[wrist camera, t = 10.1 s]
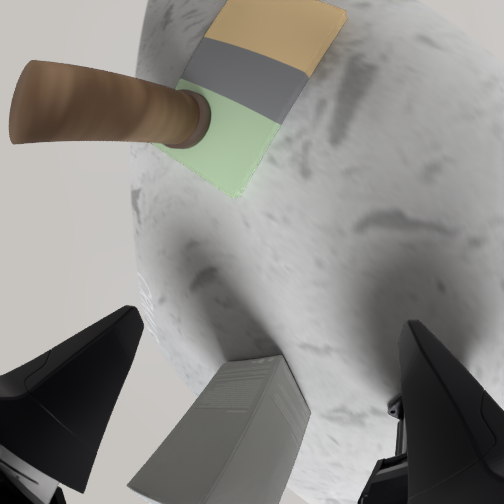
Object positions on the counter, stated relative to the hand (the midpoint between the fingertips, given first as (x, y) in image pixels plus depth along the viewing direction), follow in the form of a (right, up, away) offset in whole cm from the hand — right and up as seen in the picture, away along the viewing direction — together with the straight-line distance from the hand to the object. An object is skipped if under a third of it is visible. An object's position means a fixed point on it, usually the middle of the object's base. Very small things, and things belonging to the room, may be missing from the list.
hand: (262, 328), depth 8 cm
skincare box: (+2, -11, +16) cm, 19 cm away
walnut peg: (-5, +12, +10) cm, 17 cm away
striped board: (-1, +15, +9) cm, 18 cm away
